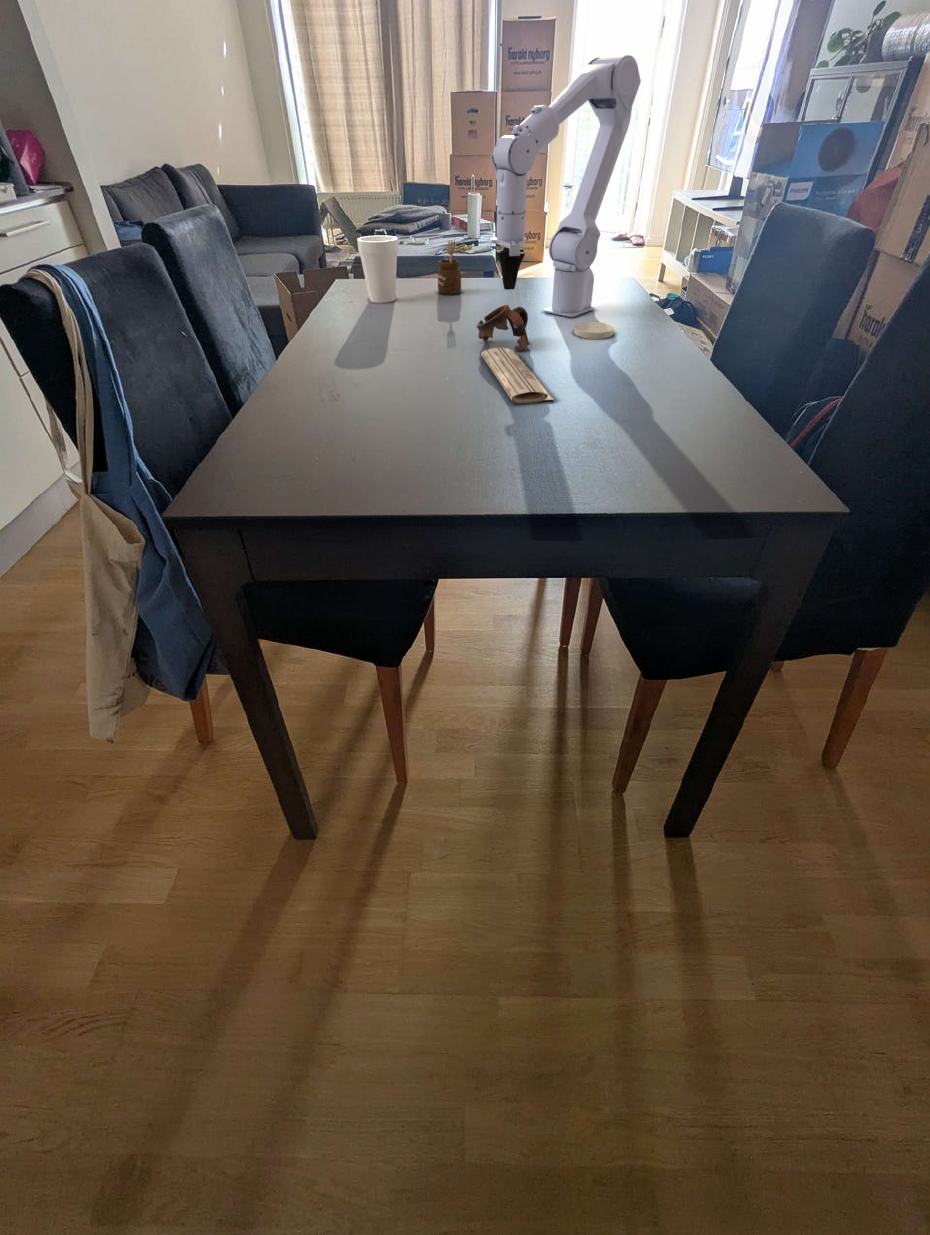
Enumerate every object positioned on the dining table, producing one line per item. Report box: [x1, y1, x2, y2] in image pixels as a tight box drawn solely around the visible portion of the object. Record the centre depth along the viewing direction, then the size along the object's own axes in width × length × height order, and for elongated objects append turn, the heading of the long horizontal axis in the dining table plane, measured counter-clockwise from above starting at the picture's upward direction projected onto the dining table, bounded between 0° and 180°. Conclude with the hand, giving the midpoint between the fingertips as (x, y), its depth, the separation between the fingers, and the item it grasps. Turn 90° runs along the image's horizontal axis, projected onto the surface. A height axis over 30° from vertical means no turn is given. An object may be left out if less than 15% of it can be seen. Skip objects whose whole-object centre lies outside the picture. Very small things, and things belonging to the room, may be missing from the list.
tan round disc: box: [573, 321, 615, 340], centre depth 127 cm, size 8×8×1 cm
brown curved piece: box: [476, 304, 530, 352], centre depth 121 cm, size 12×10×8 cm
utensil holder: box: [437, 239, 462, 296], centre depth 153 cm, size 6×6×12 cm
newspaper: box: [481, 347, 555, 404], centre depth 107 cm, size 24×7×2 cm, turn 11°
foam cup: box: [357, 234, 399, 304], centre depth 148 cm, size 10×9×13 cm
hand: (509, 288), depth 130 cm, fingers closed
